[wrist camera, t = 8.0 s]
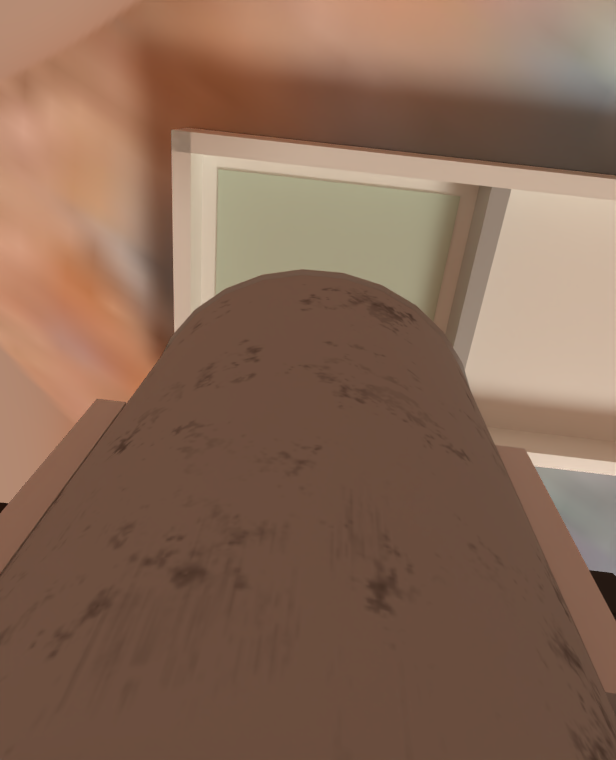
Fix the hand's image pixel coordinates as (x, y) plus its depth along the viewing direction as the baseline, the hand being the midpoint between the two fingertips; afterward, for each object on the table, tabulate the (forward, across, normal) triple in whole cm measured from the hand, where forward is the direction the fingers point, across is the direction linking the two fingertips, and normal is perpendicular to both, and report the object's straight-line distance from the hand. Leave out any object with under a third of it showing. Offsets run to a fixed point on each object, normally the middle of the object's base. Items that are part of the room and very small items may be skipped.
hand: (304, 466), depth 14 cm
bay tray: (+15, +7, 0) cm, 16 cm away
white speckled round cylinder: (+2, 0, 0) cm, 2 cm away
